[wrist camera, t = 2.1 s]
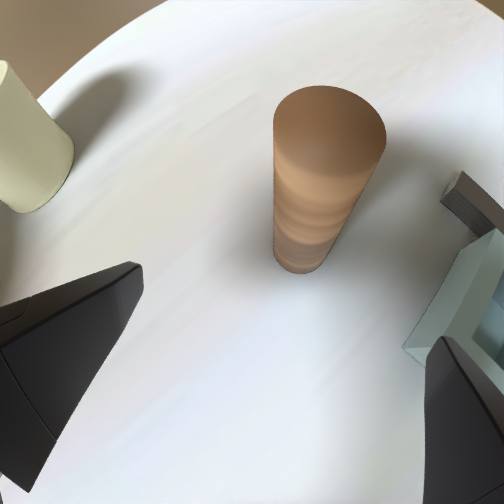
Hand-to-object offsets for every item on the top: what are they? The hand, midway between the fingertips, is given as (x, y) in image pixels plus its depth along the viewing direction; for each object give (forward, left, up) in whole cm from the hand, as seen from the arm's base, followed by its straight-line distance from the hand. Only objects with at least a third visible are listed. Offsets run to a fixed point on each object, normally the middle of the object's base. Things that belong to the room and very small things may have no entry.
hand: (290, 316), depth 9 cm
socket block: (-1, -15, -12) cm, 19 cm away
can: (+15, +22, -12) cm, 29 cm away
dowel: (+6, -2, -12) cm, 13 cm away
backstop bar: (+4, -20, -12) cm, 24 cm away
